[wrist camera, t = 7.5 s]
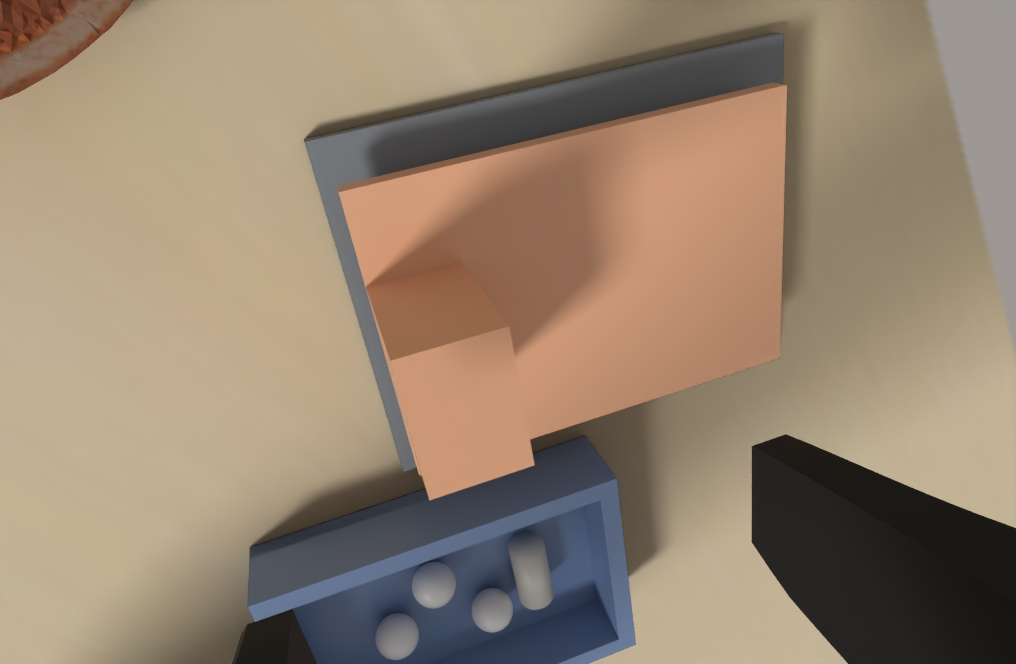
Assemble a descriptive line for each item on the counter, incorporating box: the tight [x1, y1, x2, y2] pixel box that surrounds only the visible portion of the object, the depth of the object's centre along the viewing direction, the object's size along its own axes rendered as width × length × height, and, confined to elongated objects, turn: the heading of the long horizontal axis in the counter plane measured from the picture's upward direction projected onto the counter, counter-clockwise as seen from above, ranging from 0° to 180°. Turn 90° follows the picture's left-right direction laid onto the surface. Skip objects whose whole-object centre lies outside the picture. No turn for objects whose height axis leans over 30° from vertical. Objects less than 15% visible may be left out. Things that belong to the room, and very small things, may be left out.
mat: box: [304, 33, 784, 472], centre depth 20 cm, size 10×13×1 cm
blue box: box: [248, 436, 636, 664], centre depth 23 cm, size 8×11×2 cm
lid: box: [337, 82, 787, 500], centre depth 17 cm, size 8×12×6 cm
